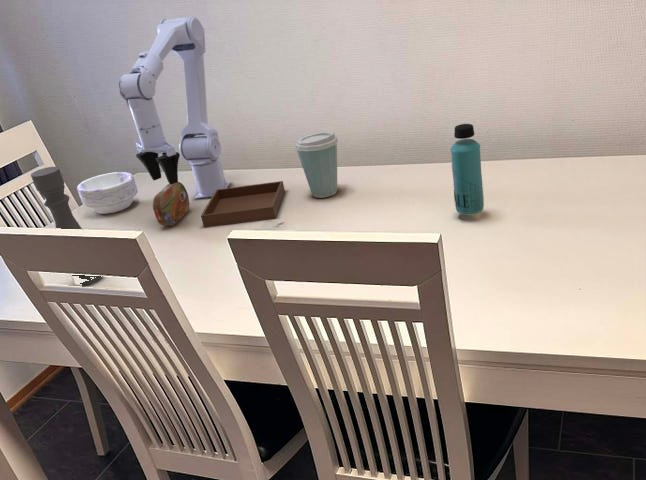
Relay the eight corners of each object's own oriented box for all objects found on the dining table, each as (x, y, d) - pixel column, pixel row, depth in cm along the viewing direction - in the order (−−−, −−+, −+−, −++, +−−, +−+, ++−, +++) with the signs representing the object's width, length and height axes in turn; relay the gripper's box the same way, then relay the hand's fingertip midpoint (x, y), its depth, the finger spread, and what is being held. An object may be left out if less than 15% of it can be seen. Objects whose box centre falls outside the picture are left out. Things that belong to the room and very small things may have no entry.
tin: (169, 231, 176) (159, 198, 171) (158, 231, 177) (147, 199, 172) (192, 207, 188) (183, 176, 183) (182, 208, 189) (173, 177, 184)
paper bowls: (152, 197, 199) (143, 170, 195) (116, 219, 188) (106, 191, 184) (112, 196, 206) (102, 170, 201) (75, 217, 195) (64, 190, 190)
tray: (219, 200, 190) (216, 189, 188) (285, 191, 188) (282, 180, 186) (203, 227, 175) (200, 215, 173) (275, 218, 173) (272, 206, 171)
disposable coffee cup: (298, 201, 180) (286, 142, 172) (316, 185, 188) (305, 129, 180) (335, 201, 176) (325, 141, 168) (352, 185, 184) (342, 127, 176)
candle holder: (78, 275, 160) (34, 169, 147) (105, 271, 160) (63, 164, 147) (71, 288, 155) (25, 178, 142) (99, 283, 155) (55, 173, 142)
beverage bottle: (487, 209, 158) (482, 119, 147) (481, 221, 153) (476, 129, 142) (458, 209, 161) (452, 121, 150) (452, 221, 156) (444, 131, 145)
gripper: (118, 128, 171) (136, 182, 178) (150, 133, 162) (168, 190, 169) (143, 120, 175) (160, 173, 182) (175, 124, 166) (191, 180, 173)
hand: (165, 181), depth 176 cm, fingers open, 7 cm apart
